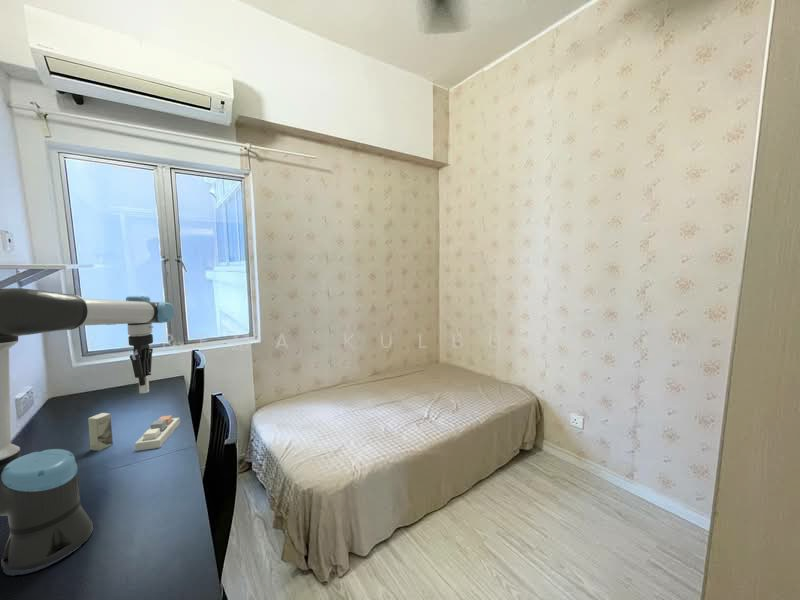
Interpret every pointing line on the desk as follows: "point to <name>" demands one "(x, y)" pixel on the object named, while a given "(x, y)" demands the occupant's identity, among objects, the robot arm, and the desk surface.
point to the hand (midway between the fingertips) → (144, 392)
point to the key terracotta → (168, 419)
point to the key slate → (159, 424)
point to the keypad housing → (161, 439)
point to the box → (100, 431)
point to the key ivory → (151, 434)
